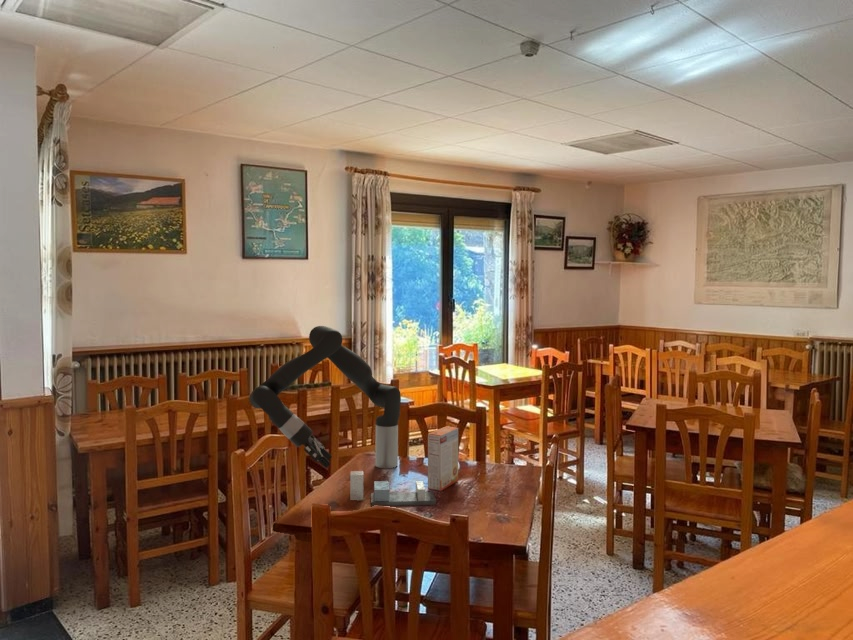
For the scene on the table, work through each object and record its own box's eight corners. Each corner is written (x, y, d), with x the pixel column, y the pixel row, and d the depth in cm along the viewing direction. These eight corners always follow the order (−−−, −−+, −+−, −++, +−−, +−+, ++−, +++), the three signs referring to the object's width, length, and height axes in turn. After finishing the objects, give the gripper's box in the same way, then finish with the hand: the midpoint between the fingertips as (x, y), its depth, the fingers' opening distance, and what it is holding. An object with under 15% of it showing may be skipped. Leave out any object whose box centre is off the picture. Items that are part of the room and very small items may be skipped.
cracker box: (444, 478, 245) (445, 425, 243) (458, 481, 241) (459, 427, 240) (426, 488, 233) (427, 432, 231) (440, 491, 229) (441, 435, 228)
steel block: (350, 496, 224) (350, 471, 223) (363, 495, 224) (363, 471, 224) (350, 500, 219) (350, 475, 219) (363, 500, 220) (363, 474, 219)
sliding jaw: (373, 492, 223) (374, 481, 222) (388, 492, 223) (388, 481, 223) (374, 501, 214) (374, 489, 214) (389, 501, 214) (389, 489, 214)
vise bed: (371, 497, 223) (371, 482, 222) (433, 495, 225) (433, 480, 225) (371, 506, 214) (371, 490, 213) (436, 504, 216) (436, 489, 216)
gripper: (301, 427, 211) (336, 460, 213) (305, 418, 225) (337, 449, 227) (285, 443, 211) (320, 476, 213) (290, 432, 225) (322, 463, 227)
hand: (329, 462), depth 220 cm, fingers open, 8 cm apart
